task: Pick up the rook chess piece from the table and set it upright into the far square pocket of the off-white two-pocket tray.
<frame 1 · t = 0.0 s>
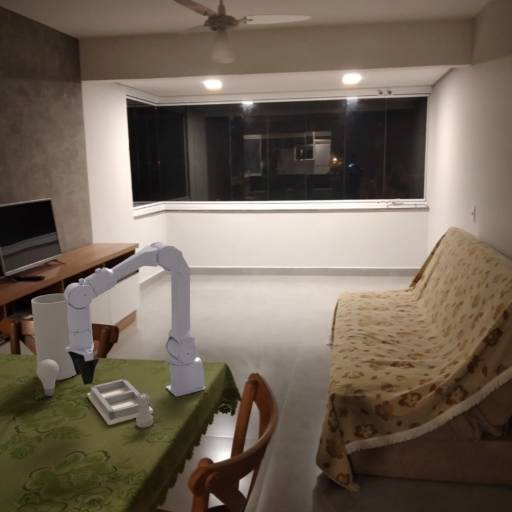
hand: (84, 378, 140), 10 cm above the table, tool pointing down, fingers open, 7 cm apart
pocket tray: (119, 404, 147), on the table
lightbulb: (50, 396, 154), on the table
cylinder vase: (59, 374, 170), on the table
rook chess piece: (144, 424, 136), on the table
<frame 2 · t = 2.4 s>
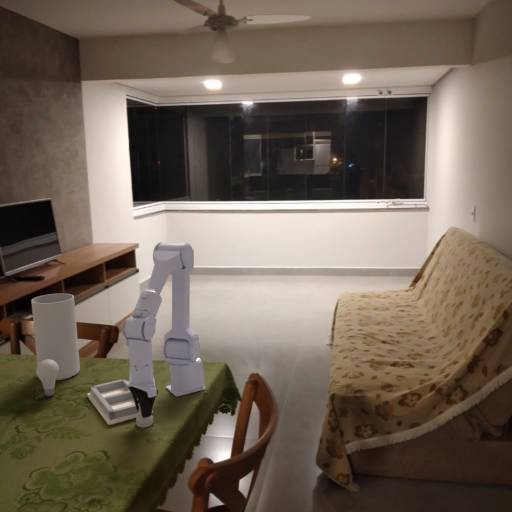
hand: (144, 413, 135), 3 cm above the table, tool pointing down, fingers closed on rook chess piece, 3 cm apart
rook chess piece: (144, 424, 136), on the table, touching gripper
everything else where it was.
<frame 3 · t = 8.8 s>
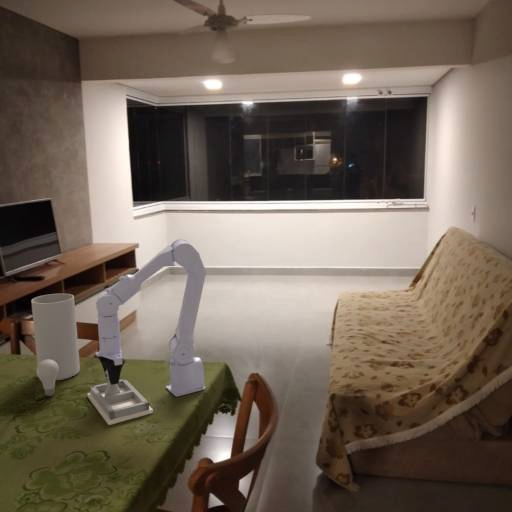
hand: (112, 381, 150), 5 cm above the table, tool pointing down, fingers closed on rook chess piece, 3 cm apart
rook chess piece: (112, 396, 151), point 1 cm above the table, touching gripper, pocket tray
everything else where it was.
when the fingers open (4 cm above the table, at t = 9.4 s): rook chess piece stays where it is, resting on pocket tray.
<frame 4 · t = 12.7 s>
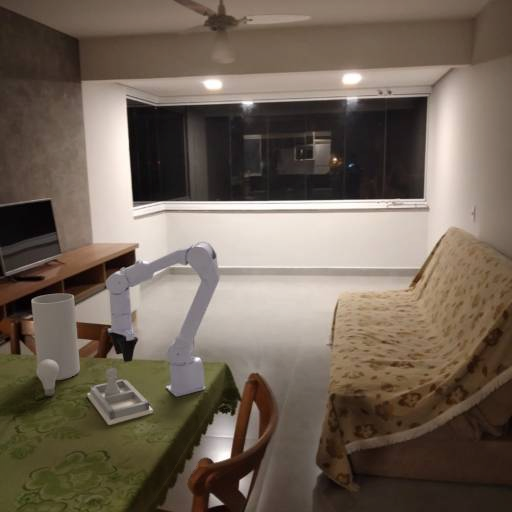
hand: (124, 357, 156), 10 cm above the table, tool pointing down, fingers open, 7 cm apart
rook chess piece: (112, 396, 151), point 1 cm above the table, touching pocket tray
everything else where it was.
at the end: rook chess piece 0.3 cm from the target spot on the pocket tray, point 0.8 cm above the pocket tray's base; rook chess piece tilted 0°; the gripper is holding nothing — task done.
